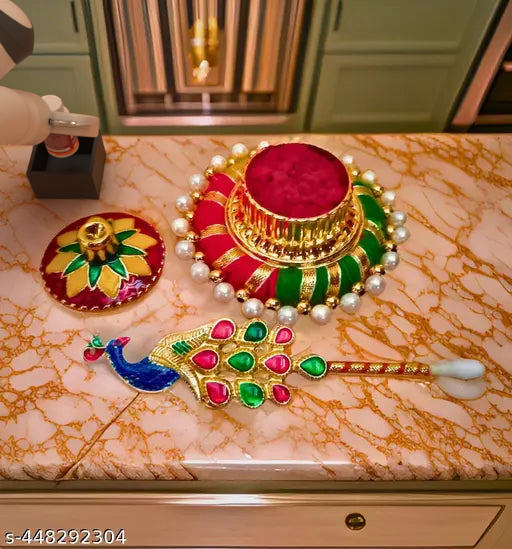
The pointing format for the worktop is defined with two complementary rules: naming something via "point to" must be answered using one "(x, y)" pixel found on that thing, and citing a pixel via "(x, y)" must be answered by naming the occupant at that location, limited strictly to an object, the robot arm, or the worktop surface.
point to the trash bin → (68, 171)
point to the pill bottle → (59, 142)
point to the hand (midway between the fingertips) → (56, 122)
